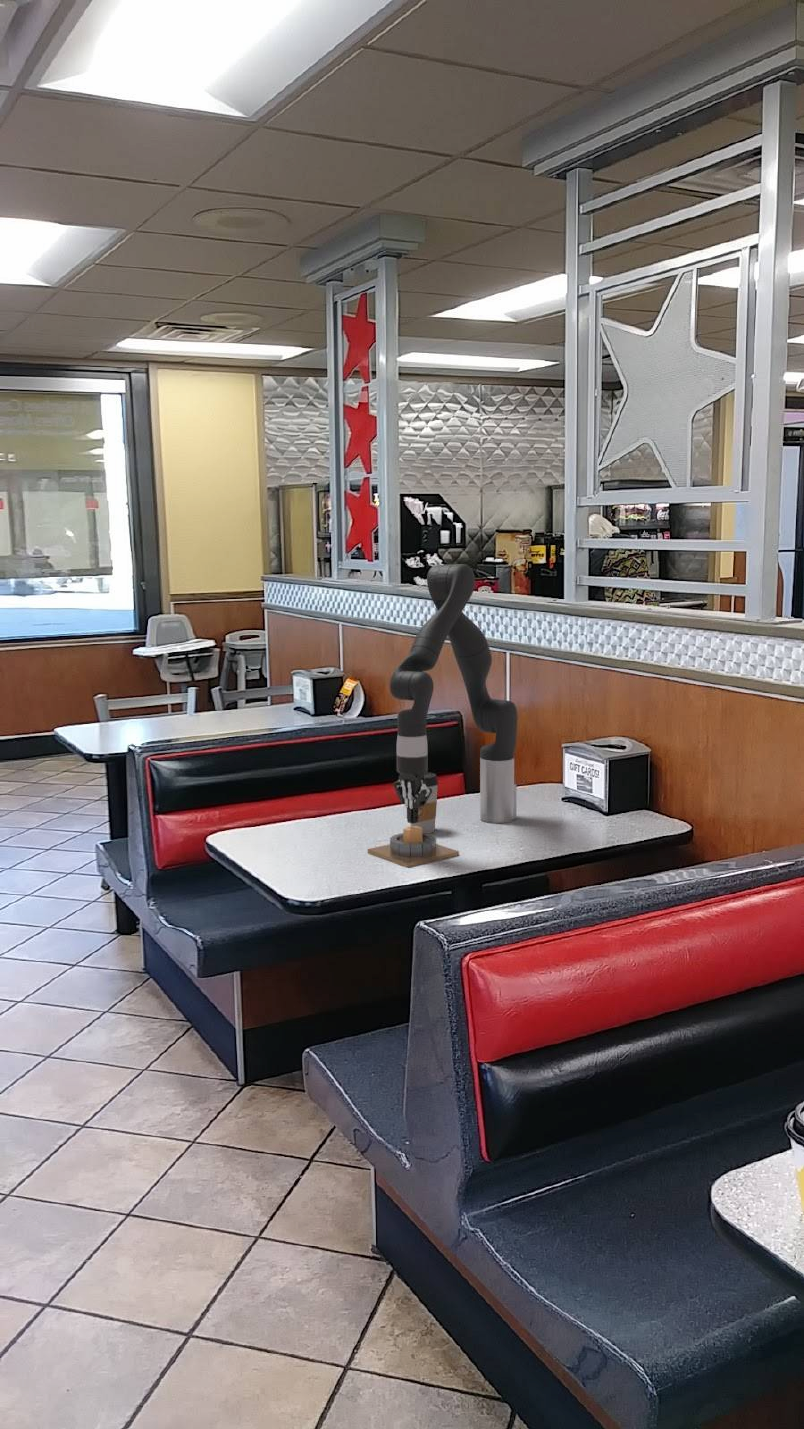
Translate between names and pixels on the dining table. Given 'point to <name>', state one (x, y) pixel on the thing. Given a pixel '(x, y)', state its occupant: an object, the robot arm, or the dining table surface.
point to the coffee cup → (428, 806)
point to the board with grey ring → (413, 851)
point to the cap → (412, 834)
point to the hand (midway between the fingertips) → (412, 822)
